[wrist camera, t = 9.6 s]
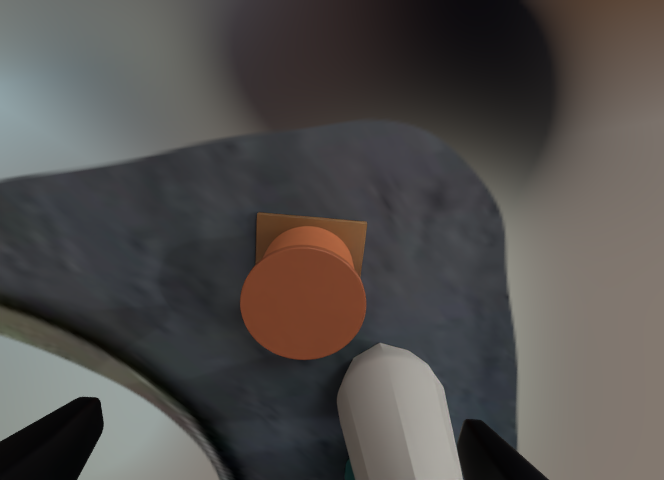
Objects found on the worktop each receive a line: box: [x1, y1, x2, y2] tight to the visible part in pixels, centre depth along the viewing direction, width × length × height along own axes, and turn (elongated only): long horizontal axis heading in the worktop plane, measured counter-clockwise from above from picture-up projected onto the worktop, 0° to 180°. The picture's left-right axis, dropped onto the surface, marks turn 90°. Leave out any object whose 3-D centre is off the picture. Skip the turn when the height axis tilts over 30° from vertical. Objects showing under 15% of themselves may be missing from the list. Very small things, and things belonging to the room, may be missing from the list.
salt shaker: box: [337, 343, 463, 480], centre depth 13 cm, size 6×6×13 cm
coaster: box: [256, 212, 367, 277], centre depth 17 cm, size 6×6×1 cm
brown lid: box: [240, 226, 366, 360], centre depth 15 cm, size 5×5×4 cm
